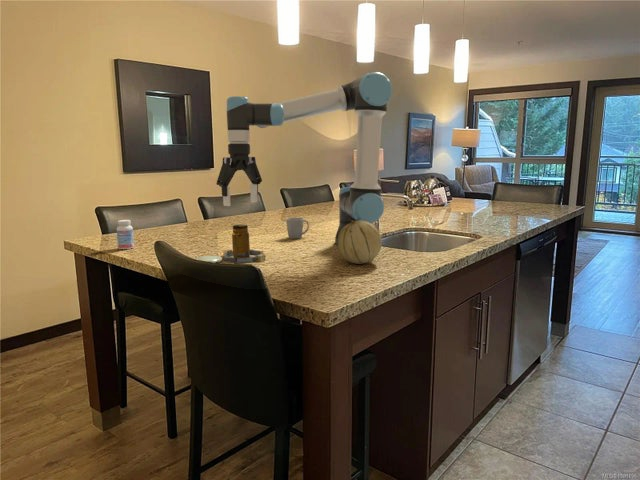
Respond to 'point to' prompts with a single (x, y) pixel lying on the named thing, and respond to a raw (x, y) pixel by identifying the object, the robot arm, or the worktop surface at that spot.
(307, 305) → the worktop surface
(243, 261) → the collar
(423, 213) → the worktop surface
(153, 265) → the worktop surface
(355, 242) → the cantaloupe
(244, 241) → the condiment
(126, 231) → the pill bottle
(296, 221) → the cup
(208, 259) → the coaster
